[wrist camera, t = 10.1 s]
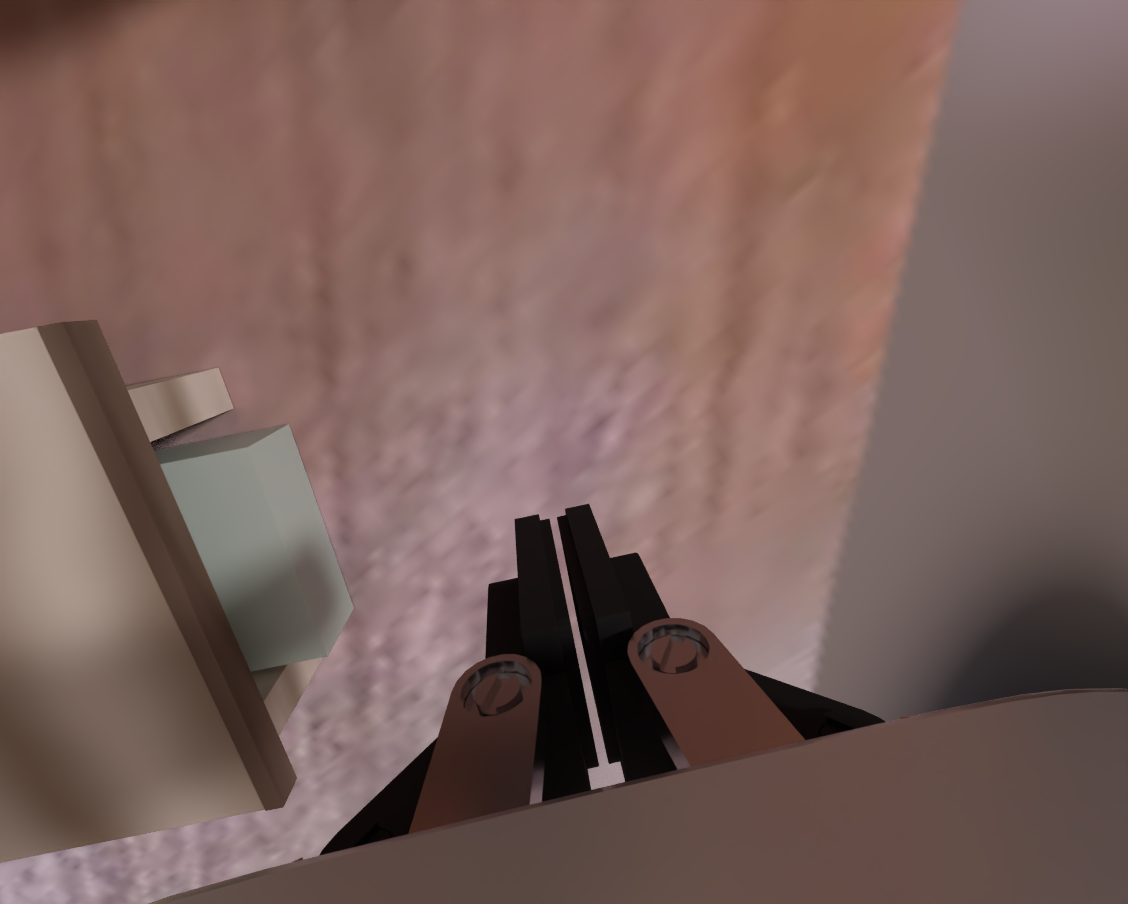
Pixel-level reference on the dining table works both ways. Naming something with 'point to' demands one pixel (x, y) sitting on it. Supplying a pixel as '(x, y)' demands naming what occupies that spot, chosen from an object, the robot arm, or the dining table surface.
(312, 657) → the pale green tile
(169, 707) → the beige wooden box
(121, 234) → the dining table surface
